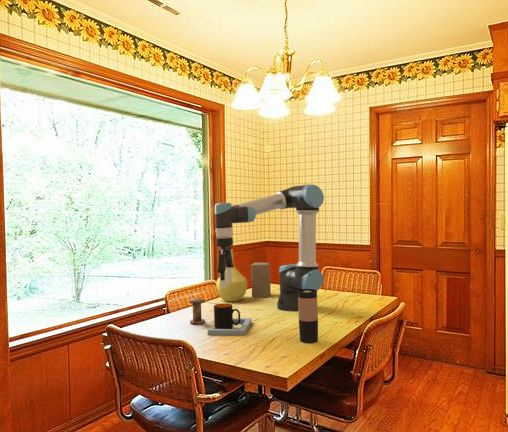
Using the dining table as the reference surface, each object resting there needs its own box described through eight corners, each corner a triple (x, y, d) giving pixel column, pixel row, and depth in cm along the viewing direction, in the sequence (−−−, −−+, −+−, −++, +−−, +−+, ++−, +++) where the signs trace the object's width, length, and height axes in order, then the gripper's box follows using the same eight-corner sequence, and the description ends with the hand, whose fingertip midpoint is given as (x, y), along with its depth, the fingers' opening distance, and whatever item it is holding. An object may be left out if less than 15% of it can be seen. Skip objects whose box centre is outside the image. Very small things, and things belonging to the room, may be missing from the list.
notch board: (251, 322, 196) (251, 318, 196) (244, 335, 177) (244, 330, 177) (218, 322, 199) (218, 318, 199) (207, 334, 179) (207, 330, 179)
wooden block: (268, 297, 250) (267, 264, 250) (251, 297, 252) (250, 264, 252) (270, 294, 260) (269, 262, 260) (255, 294, 262) (254, 262, 262)
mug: (238, 331, 182) (237, 308, 182) (212, 330, 185) (211, 307, 185) (243, 326, 190) (242, 303, 190) (217, 325, 193) (217, 303, 193)
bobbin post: (206, 320, 202) (205, 298, 202) (202, 324, 195) (201, 301, 195) (192, 320, 203) (191, 298, 203) (188, 324, 196) (187, 301, 196)
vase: (253, 298, 250) (252, 248, 250) (236, 304, 235) (234, 251, 235) (228, 295, 260) (227, 247, 260) (210, 301, 245) (208, 250, 244)
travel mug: (297, 338, 170) (296, 289, 170) (316, 337, 171) (314, 288, 171) (301, 344, 163) (299, 292, 162) (320, 343, 163) (319, 291, 163)
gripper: (222, 235, 200) (224, 279, 201) (209, 240, 176) (211, 290, 176) (237, 234, 199) (239, 279, 200) (226, 239, 174) (229, 289, 175)
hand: (226, 284), depth 188 cm, fingers open, 13 cm apart
